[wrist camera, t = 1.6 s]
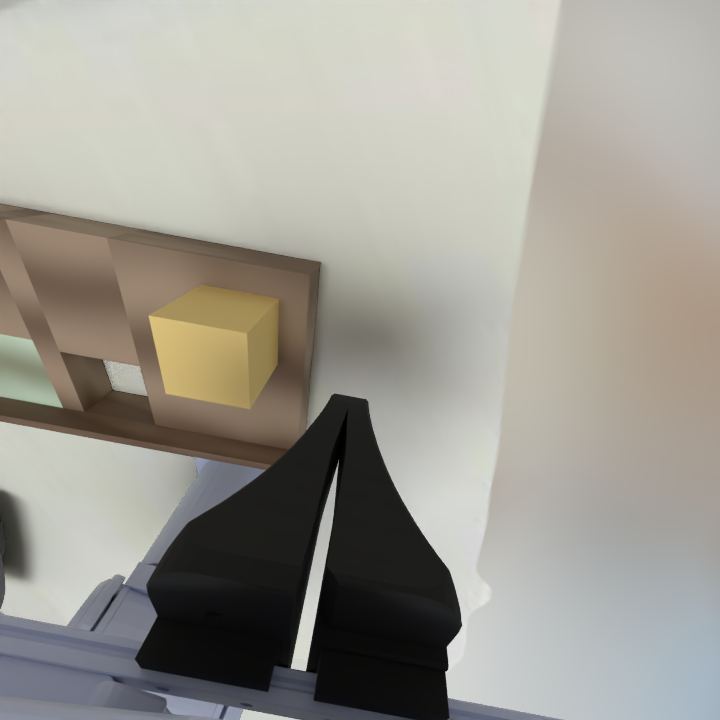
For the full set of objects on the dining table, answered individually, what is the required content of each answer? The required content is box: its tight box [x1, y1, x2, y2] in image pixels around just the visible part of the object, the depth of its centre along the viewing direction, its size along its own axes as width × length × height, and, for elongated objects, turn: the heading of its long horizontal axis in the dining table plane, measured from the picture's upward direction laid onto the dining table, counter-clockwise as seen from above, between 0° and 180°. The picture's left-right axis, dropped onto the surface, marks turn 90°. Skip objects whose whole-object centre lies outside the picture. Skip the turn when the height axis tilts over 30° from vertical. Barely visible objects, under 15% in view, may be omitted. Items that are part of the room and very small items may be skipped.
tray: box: [0, 204, 320, 470], centre depth 19 cm, size 13×27×4 cm, turn 81°
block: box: [149, 285, 279, 409], centre depth 15 cm, size 4×4×4 cm
